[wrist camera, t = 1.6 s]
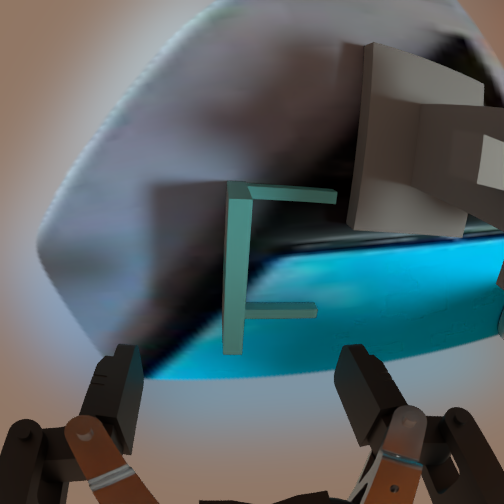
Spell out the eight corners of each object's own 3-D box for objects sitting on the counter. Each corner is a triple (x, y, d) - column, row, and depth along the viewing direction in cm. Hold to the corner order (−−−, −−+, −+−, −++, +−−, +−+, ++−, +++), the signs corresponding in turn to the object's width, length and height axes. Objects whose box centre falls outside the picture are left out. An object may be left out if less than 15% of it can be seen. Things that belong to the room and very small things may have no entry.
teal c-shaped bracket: (332, 187, 21) (361, 206, 17) (312, 312, 25) (330, 351, 21) (226, 180, 21) (228, 198, 16) (221, 312, 24) (223, 354, 20)
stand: (472, 84, 19) (588, 92, 8) (451, 231, 24) (550, 299, 13) (364, 46, 18) (483, 4, 7) (345, 223, 23) (441, 314, 12)
